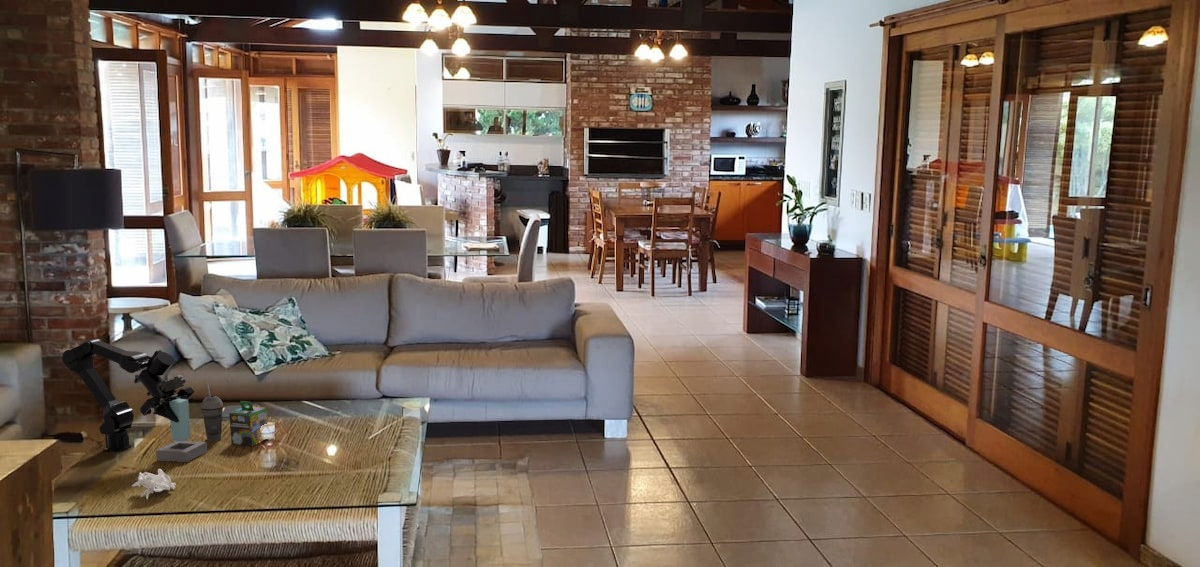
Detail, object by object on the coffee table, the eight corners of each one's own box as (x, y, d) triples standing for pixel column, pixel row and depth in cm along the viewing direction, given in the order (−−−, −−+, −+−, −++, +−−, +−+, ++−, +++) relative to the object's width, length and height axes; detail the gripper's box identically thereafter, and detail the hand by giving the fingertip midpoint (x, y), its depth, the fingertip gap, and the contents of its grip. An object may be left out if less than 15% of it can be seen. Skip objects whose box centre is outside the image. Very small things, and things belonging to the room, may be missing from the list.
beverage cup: (217, 443, 327) (213, 386, 324) (198, 441, 328) (194, 385, 325) (229, 436, 334) (226, 381, 331) (211, 435, 335) (207, 380, 332)
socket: (156, 460, 308) (156, 450, 308) (178, 450, 319) (177, 440, 318) (186, 462, 306) (185, 452, 305) (207, 452, 316) (206, 442, 316)
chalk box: (269, 439, 331) (267, 398, 329) (252, 447, 322) (249, 404, 320) (248, 436, 334) (245, 396, 332) (230, 444, 325) (227, 402, 323)
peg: (171, 440, 310) (169, 401, 308) (180, 436, 314) (178, 398, 312) (181, 441, 309) (178, 402, 307) (190, 437, 313) (188, 399, 311)
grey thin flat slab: (254, 416, 356) (212, 418, 352) (255, 420, 356) (212, 423, 353) (262, 402, 375) (221, 404, 372) (262, 407, 375) (221, 409, 372)
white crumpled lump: (146, 484, 269) (128, 467, 277) (141, 506, 270) (123, 489, 278) (186, 480, 279) (168, 464, 286) (181, 501, 280) (164, 485, 287)
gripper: (144, 375, 301) (174, 412, 299) (188, 363, 318) (216, 397, 316) (127, 397, 305) (156, 433, 302) (171, 383, 322) (199, 418, 320)
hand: (183, 420), depth 310 cm, fingers closed on peg, 4 cm apart
